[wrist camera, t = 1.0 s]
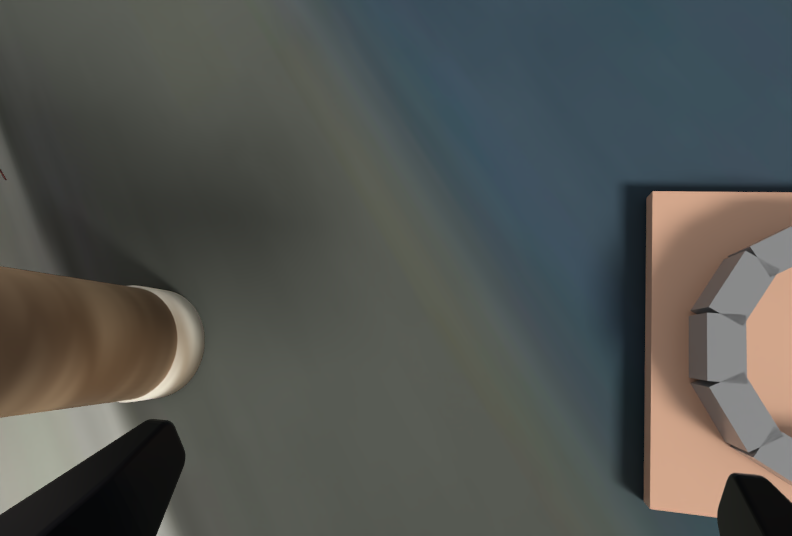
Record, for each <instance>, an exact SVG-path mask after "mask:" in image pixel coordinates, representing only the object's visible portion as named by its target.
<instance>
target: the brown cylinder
mask: <svg viewBox="0 0 792 536" xmlns="http://www.w3.org/2000/svg"><path fill="white" fill-rule="evenodd" d="M204 345H205V335H204V328H203V324H202V321H201V318H200V316H199V314H198V312H197V310H196V309H195V307H194V306H193V305H192V304H191V303H190V302H189V301H188V300H187V299H186V298H184V297H183V296H181V295H179V294H177V293H175V292H172V291H168V290H162V289H155V288H149V287H143V286H136V285H132V286H123V285H116V284H110V283H104V282H97V281H91V280H84V279H78V278H72V277H65V276H59V275H53V274H46V273H40V272H34V271H27V270H21V269H15V268H8V267H2V266H0V418H1V417H8V416H15V415H23V414H30V413H37V412H44V411H52V410H59V409H66V408H73V407H81V406H88V405H95V404H102V403H110V402H134V401H141V400H148V399H155V398H162V397H165V396H169V395H171V394H173V393H175V392H177V391H179V390H180V389H181V388H183V387H184V386H185V385H186V384H187V383H188V382H189V381H190V380H191V379H192V377H193V376H194V375H195V373H196V371H197V369H198V367H199V365H200V363H201V360H202V357H203V352H204Z"/></svg>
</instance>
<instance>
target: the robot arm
mask: <svg viewBox="0 0 792 536" xmlns="http://www.w3.org/2000/svg"><path fill="white" fill-rule="evenodd" d="M184 463H185V450H184V448H183V445H182V443H181V440H180V438H179V436H178V433H177V431H176V428H175V426H174V424H173V423H172V422H170V421H168V420H157V419H150V420H147V421H145V422H143V423H141V424H140V425H138V426H137V427H135V428H134V429H132V430H131V431H129V432H127V433H126V434H124V435H123V436H121V437H120V438H118V439H117V440H115V441H114V442H112V443H111V444H109V445H107V446H106V447H104V448H103V449H101V450H100V451H98V452H97V453H95V454H94V455H92V456H90V457H89V458H87V459H86V460H84V461H83V462H81V463H80V464H78V465H77V466H75V467H73V468H72V469H70V470H69V471H67V472H66V473H64V474H63V475H61V476H60V477H58V478H56V479H55V480H53V481H52V482H50V483H49V484H47V485H46V486H44V487H43V488H41V489H39V490H38V491H36V492H35V493H33V494H32V495H30V496H29V497H27V498H26V499H24V500H23V501H21V502H19V503H18V504H16V505H15V506H13V507H12V508H10V509H9V510H7V511H6V512H4V513H2V514H1V515H0V536H156V535H157V532H158V530H159V527H160V525H161V522H162V519H163V517H164V514H165V512H166V509H167V507H168V504H169V502H170V499H171V497H172V494H173V492H174V489H175V487H176V484H177V482H178V479H179V477H180V474H181V472H182V469H183V467H184ZM717 521H718V527H719V532H720V536H792V502H791V501H790V500H789V499H788V498H786V497H785V496H784V495H783V494H782V493H781V492H780V491H779V490H778V489H777V488H776V487H775V486H774V485H773V484H772V483H771V482H770V481H769V480H768V479H766V478H765V477H763V476H761V475H755V474H744V473H732V474H730V475H729V477H728V479H727V481H726V484H725V487H724V491H723V494H722V497H721V500H720V503H719V506H718V511H717Z"/></svg>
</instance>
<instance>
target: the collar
mask: <svg viewBox="0 0 792 536" xmlns="http://www.w3.org/2000/svg"><path fill="white" fill-rule="evenodd" d="M732 473H744V474H755V475H761V476H763V477H765V478H766V479H768V480H769V481H770V482H771V483H772V484H773V485H774V486H775V487H776V488H777V489H778V490H779V491H780V492H781V493H782V494H783V495H784V496H785V497H786V498H788V499H789V500H790V501H791V502H792V192H685V191H652V192H651V194H650V195H649V196H648V197H647V199H646V305H645V410H644V502H645V504H646V505H647V506H648V507H649V508H650V509H654V510H662V511H670V512H678V513H686V514H693V515H701V516H709V517H717V511H718V506H719V503H720V500H721V497H722V494H723V491H724V487H725V484H726V481H727V479H728V477H729V475H730V474H732Z"/></svg>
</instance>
